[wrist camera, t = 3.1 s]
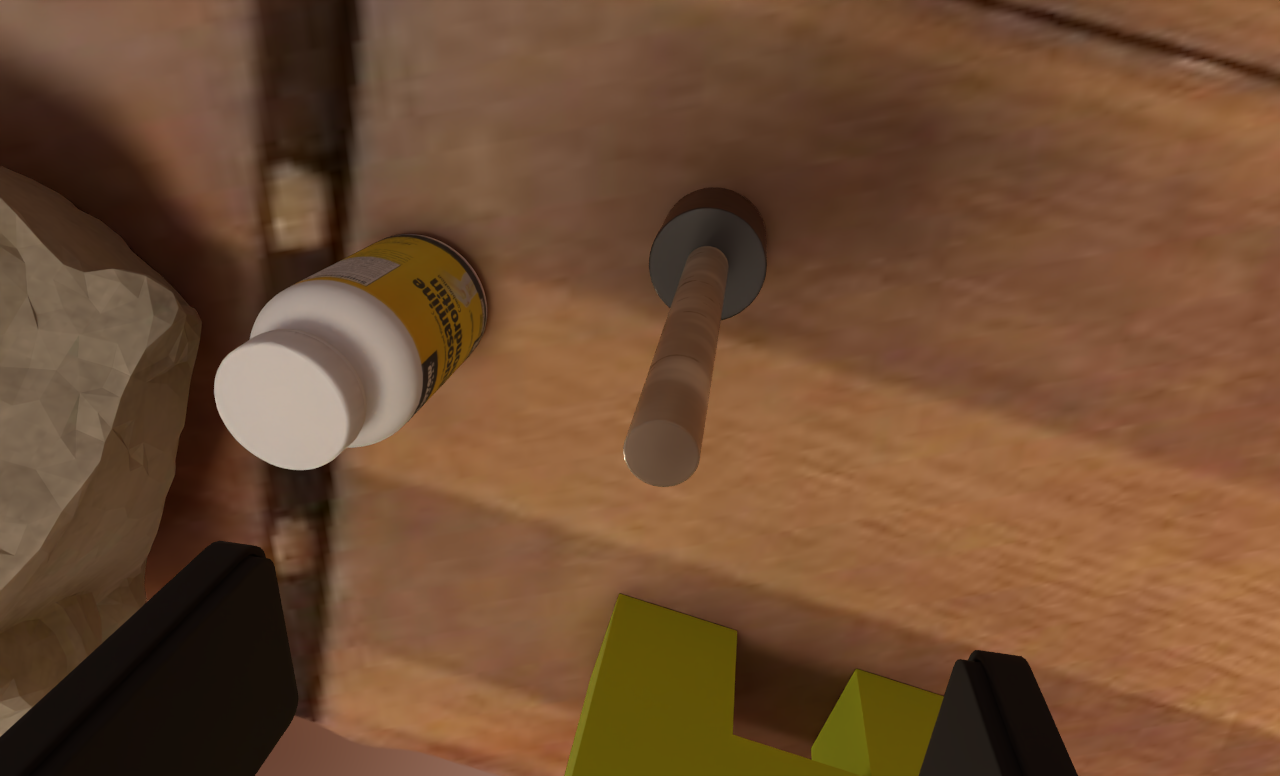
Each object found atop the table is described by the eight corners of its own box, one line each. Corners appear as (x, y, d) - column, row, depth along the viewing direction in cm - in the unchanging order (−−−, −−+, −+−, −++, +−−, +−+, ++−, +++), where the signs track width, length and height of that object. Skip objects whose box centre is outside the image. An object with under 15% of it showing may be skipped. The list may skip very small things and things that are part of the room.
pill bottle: (475, 381, 36) (359, 521, 26) (349, 335, 36) (182, 457, 26) (506, 258, 33) (390, 360, 23) (370, 208, 33) (190, 287, 23)
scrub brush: (772, 192, 30) (783, 370, 14) (759, 295, 32) (754, 555, 16) (665, 182, 31) (558, 344, 15) (658, 284, 33) (556, 527, 17)
